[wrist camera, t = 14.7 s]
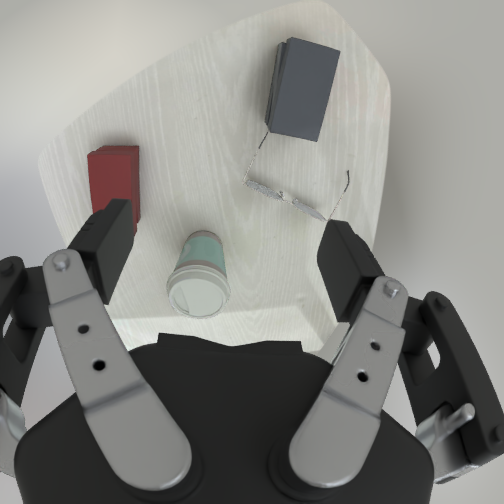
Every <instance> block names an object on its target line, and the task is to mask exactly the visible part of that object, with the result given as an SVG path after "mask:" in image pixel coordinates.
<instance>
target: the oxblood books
mask: <svg viewBox="0 0 504 504" xmlns="http://www.w3.org/2000/svg"><path fill="white" fill-rule="evenodd" d="M96 151H134V175H135V203H136V220H137V223H138V222H139V220H140V218H141V217H140V194H139V146H102V147H100V148H99V149H97V150H96Z"/></svg>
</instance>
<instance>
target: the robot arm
mask: <svg viewBox="0 0 504 504" xmlns="http://www.w3.org/2000/svg"><path fill="white" fill-rule="evenodd" d="M133 242H134V226H133V212H132V202H131V200H130V199H120V198H113V199H111V201H110V202H109V203H108V205H107V206H106V207H105V209H104V210H102V209H100V210H98V211H97V212H95V213H94V214H92V215H91V216H90V217H89V218H88V220H87V221H86V222H85V224H84V225H83V226H82V228H81V231H79V232H78V233H77V235H76V236H75V238H74V239H73V240H72V242H71V243H70V245H69V246H68V248H67V249H62V250H58V251H56V252H54V253H52V254H50V255H49V256H48V257H47V258H46V259H45V261H44V262H43V266H38V267H31V268H25V266H24V263H23V260H22V259H21V258H20V257H17V256H10V257H7V258H4V259H2V260H1V261H0V472H3V473H5V474H7V475H9V476H12V477H14V478H16V481H17V484H18V487H19V490H20V493H21V496H22V500H23V504H429V501H430V496H431V491H432V487H433V483H436V484H443V483H446V482H448V481H451V480H453V479H455V478H458V477H460V476H462V475H464V474H466V473H468V472H470V471H472V470H474V469H476V468H478V467H480V466H482V465H483V464H485V463H488V462H490V461H491V460H493V459H495V458H497V457H498V456H500V455H502V454H503V453H504V413H503V411H502V408H501V405H500V402H499V400H498V397H497V395H496V392H495V390H494V387H493V385H492V382H491V380H490V378H489V375H488V373H487V371H486V368H485V366H484V364H483V362H482V360H481V358H480V356H479V353H478V351H477V349H476V347H475V345H474V343H473V342H472V339H471V338H470V336H469V334H468V332H467V330H466V328H465V326H464V324H463V322H462V320H461V319H460V317H459V315H458V313H457V312H456V310H455V308H454V306H453V305H452V303H451V302H450V300H449V299H448V298H446V297H445V296H444V295H442V294H440V293H438V292H434V291H431V292H429V293H427V295H426V296H425V298H424V299H423V301H422V300H419V299H415V298H413V297H409V296H408V292H407V290H406V288H405V287H404V286H403V285H402V284H401V283H400V282H399V281H397V280H396V279H394V278H391V277H388V276H385V274H384V272H383V271H382V269H381V267H380V265H379V264H378V262H377V260H376V259H375V258H374V255H373V254H372V252H371V251H370V249H369V247H368V245H367V244H366V242H365V241H364V240H363V239H361V238H360V237H359V236H358V235H357V234H355V233H354V232H353V230H352V228H351V227H350V225H349V223H348V222H346V221H339V220H332V219H330V220H329V221H328V222H327V225H326V228H325V231H324V234H323V237H322V240H321V243H320V246H319V249H318V253H317V264H318V267H319V270H320V272H321V275H322V278H323V281H324V284H325V286H326V289H327V292H328V295H329V298H330V301H331V304H332V307H333V310H334V313H335V316H336V319H337V322H349V324H350V327H349V328H348V330H347V332H346V334H345V336H344V338H343V339H342V341H341V343H340V345H339V347H338V349H337V351H336V352H335V354H334V356H333V358H332V360H331V362H330V363H328V362H327V361H325V360H324V359H322V358H320V357H317V356H315V355H313V354H310V353H307V352H303V350H302V345H301V341H262V342H257V343H251V344H245V345H239V346H226V345H223V344H219V343H216V342H212V341H209V340H205V339H202V338H198V337H195V336H187V335H176V334H167V333H159V335H158V340H157V343H153V344H147V345H143V346H140V347H137V348H135V349H132V350H130V351H127V349H126V347H125V345H124V344H123V342H122V340H121V338H120V336H119V334H118V332H117V331H116V329H115V327H114V325H113V323H112V321H111V319H110V317H109V315H108V313H107V311H106V309H105V307H104V304H105V305H108V304H109V302H110V299H111V297H112V294H113V292H114V289H115V287H116V284H117V282H118V279H119V277H120V274H121V272H122V270H123V267H124V265H125V263H126V260H127V258H128V256H129V253H130V251H131V249H132V246H133ZM9 314H10V315H11V317H12V318H13V319H12V321H11V323H10V325H9V327H8V330H7V332H6V334H5V336H4V338H3V326H4V324H5V322H6V319H7V318H8V315H9ZM50 326H53V327H54V330H55V334H56V337H57V341H58V344H59V347H60V350H61V353H62V356H63V359H64V362H65V365H66V367H67V370H68V373H69V375H70V378H71V381H72V383H73V386H74V388H75V391H76V392H75V393H74V394H73V395H71V396H70V397H69V398H68V399H66V400H65V401H64V402H63V403H61V404H60V405H59V406H58V407H56V408H55V409H54V410H53V411H52V412H50V413H49V414H48V415H46V416H45V417H44V418H43V419H41V420H40V421H39V422H38V423H37V424H35V425H34V426H33V427H32V428H30V429H29V430H28V431H27V429H26V427H25V418H24V414H23V412H22V410H21V409H20V407H21V403H22V399H23V395H24V392H25V388H26V384H27V381H28V378H29V374H30V371H31V368H32V365H33V362H34V359H35V356H36V353H37V350H38V347H39V345H40V342H41V339H42V336H43V334H44V331H45V328H46V327H50ZM433 341H434V342H435V344H436V347H437V349H438V351H439V354H440V363H439V366H438V367H437V368H436V370H435V367H434V365H433V363H432V360H431V357H430V355H429V353H428V350H427V348H428V347H429V346H430V345H431V343H432V342H433ZM397 362H398V365H399V368H400V371H401V374H402V378H403V381H404V384H405V387H406V390H407V394H408V397H409V400H410V404H411V407H412V411H413V414H414V418H415V422H416V426H417V430H416V433H415V437H414V436H413V435H412V434H411V433H410V432H409V431H407V430H406V429H405V428H404V427H403V426H401V425H400V424H399V423H398V422H397V421H396V420H394V419H393V418H392V417H391V416H390V415H389V414H388V413H386V412H385V411H384V410H383V409H382V407H383V404H384V401H385V399H386V396H387V393H388V390H389V387H390V384H391V381H392V378H393V375H394V371H395V369H396V365H397Z"/></svg>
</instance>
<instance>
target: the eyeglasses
mask: <svg viewBox="0 0 504 504" xmlns="http://www.w3.org/2000/svg"><path fill="white" fill-rule="evenodd" d="M268 131H269V130H268ZM267 133H268V132H267ZM266 136H267V134H266ZM266 136H265V137H264V139H265V138H266ZM264 139H263V141H264ZM263 141H262V142H261V144H260V146H259V148H258V150H259V149H260V147H261V145H262V143H263ZM258 150H257V152H258ZM257 152H256V154H257ZM256 154H255V156H256ZM255 156H254V158H255ZM254 158H253V160H254ZM253 160H252V162H251V164H250V166H249V168H248V170H247V172H246V174H245V176H244V178H243V180H242V184H244V185H246V186H248V187H249V188H251V189H253V190H255V191H257V192H259V193H261V194H263V195H265V196H268V197H270V198H272V199H275V200H278V201H282V202H283V201H285V200H283V198H282V197H283V196H284V194H283V192H282V191H279V192H280V194H281V195H282V196H280V195H279V194H278V193H276V192H275V191H273V190H271V189H269V188H267V187H265V186H263V185H261V184H258V183H256V182H254V181H251V180H247V181H246V184H245V183H243V182H244V179H245V177H246V175H247V173H248V171H249V169H250V167H251V165H252V163H253ZM347 174H348V184H347V187H348V185H349V170H348V171H347ZM347 187H346V189H347ZM346 189H345V191H346ZM345 191H344V193H345ZM344 193H343V195H344ZM343 195H342V196H343ZM284 197H285V196H284ZM341 198H342V197H341ZM341 198H340V200H341ZM340 200H339V202H340ZM285 202H288V201H285ZM339 202H338V204H339ZM288 203H290V204H292V205H293V206H294V207H296V208H297V209H298V210H300V211H302V212H304V213H306V214H308V215H310V216H312V217H314V218H316V219H319V220H321V221H324V222H328V221H329V220H330V219H331V217H332V215H333V213H334V212H335V210H336V208H337V206H338V204H337V205H336V207H335V209H334V211H333V213H332V214H331V216H330V218H329V220H328V221H327V220H326V219H325V218H324V217H323V216H322V215H321V214H320V213H319V212H318V211H316V210H315V209H313V208H311V207H309V206H307V205H304V204H302V203H300V202H298V199H297V198H294V199H293V201H292V203H291V202H288Z"/></svg>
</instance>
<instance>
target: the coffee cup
mask: <svg viewBox="0 0 504 504" xmlns="http://www.w3.org/2000/svg"><path fill="white" fill-rule="evenodd" d="M230 292H231V289H230V284H229V282H228V280H227V275H226V269H225V262H224V255H223V249H222V243H221V241H220V239H219V238H218V237H217V236H216V235H215V234H213V233H211V232H207V231H199V232H195V233H193V234H192V235H190V236H189V238H188V239H187V241H186V244H185V246H184V248H183V250H182V253H181V255H180V257H179V260H178V262H177V265H176V267H175V269H174V272H173V273H172V274H171V275H170V277H169V279H168V281H167V294H168V297H169V301H170V304H171V305H172V307H173V308H174V309H175V310H176V311H177V312H178V313H180V314H182V315H184V316H186V317H189V318H193V319H207V318H211V317H214V316H216V315H218V314H219V313H220V312H221V311H222V310H223V309H224V307H225V305H226V304H227V302H228V300H229V297H230Z"/></svg>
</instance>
